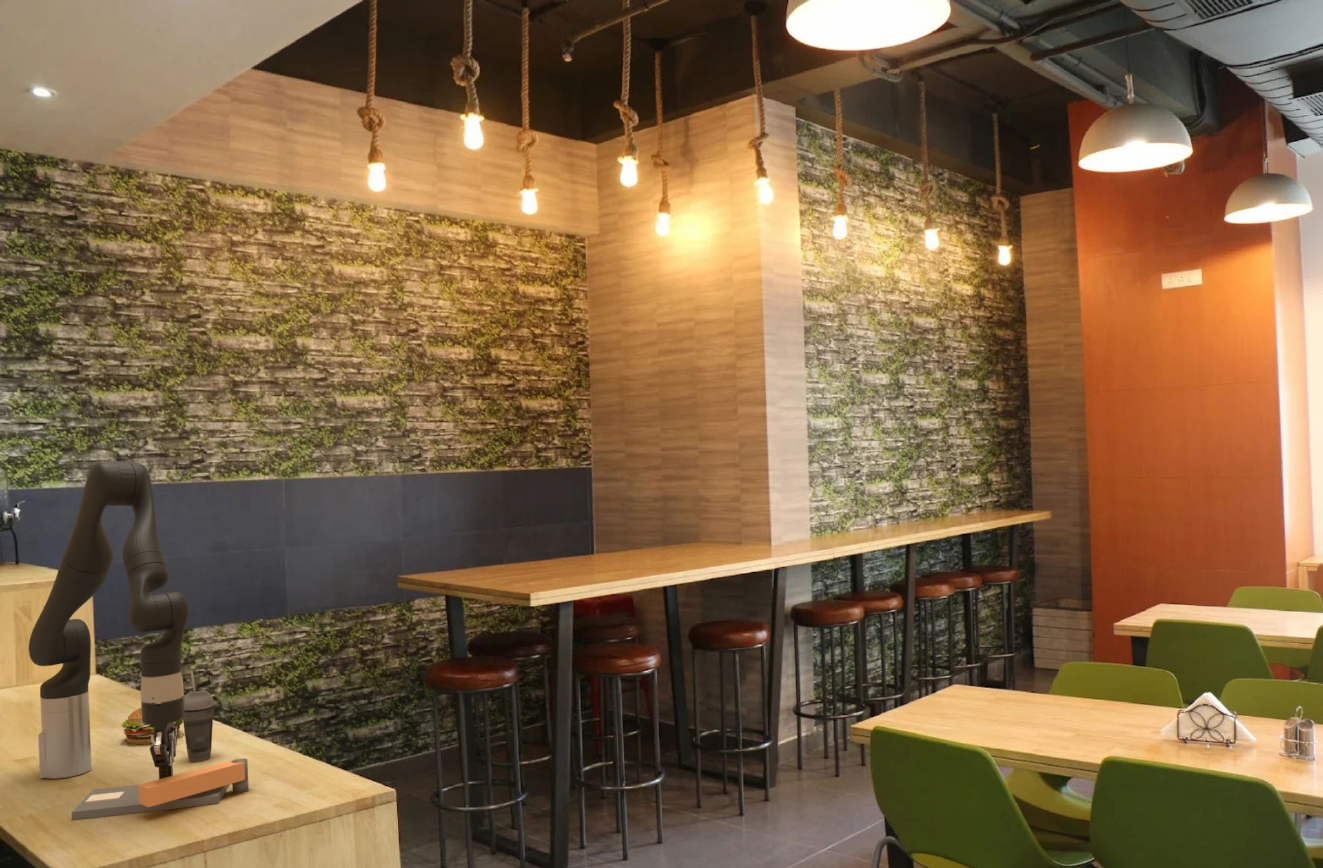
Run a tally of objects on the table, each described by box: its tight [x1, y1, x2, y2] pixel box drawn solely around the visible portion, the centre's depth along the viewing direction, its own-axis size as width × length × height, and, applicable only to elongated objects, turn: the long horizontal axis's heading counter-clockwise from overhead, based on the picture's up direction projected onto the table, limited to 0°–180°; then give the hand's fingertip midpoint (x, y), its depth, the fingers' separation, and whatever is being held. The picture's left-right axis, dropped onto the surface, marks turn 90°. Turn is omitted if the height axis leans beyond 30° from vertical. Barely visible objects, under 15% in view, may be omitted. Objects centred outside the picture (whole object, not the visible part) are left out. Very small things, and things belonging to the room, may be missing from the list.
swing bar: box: [138, 758, 249, 807], centre depth 206 cm, size 20×4×4 cm, turn 139°
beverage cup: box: [182, 669, 216, 763], centre depth 237 cm, size 7×7×20 cm
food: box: [121, 707, 183, 745], centre depth 257 cm, size 14×14×8 cm
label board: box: [70, 777, 250, 821], centre depth 209 cm, size 30×14×2 cm, turn 103°
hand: (166, 784), depth 205 cm, fingers closed
